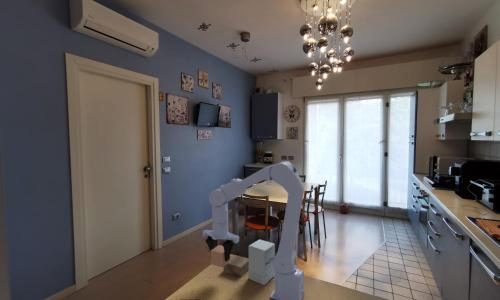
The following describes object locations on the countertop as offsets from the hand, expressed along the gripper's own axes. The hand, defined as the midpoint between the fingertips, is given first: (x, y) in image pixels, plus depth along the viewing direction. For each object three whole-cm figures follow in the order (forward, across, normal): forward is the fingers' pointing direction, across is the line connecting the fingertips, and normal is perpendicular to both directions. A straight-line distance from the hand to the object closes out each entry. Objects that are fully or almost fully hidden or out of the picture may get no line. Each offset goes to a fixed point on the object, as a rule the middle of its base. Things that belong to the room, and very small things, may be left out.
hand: (220, 258), depth 86 cm
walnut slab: (+9, +2, +9) cm, 13 cm away
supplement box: (+9, +13, +8) cm, 17 cm away
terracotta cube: (+2, 0, 0) cm, 2 cm away
